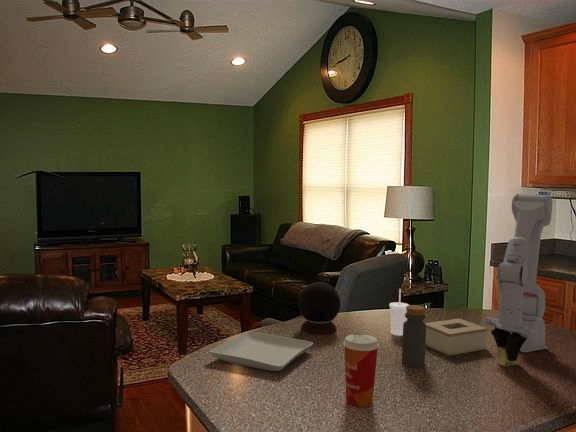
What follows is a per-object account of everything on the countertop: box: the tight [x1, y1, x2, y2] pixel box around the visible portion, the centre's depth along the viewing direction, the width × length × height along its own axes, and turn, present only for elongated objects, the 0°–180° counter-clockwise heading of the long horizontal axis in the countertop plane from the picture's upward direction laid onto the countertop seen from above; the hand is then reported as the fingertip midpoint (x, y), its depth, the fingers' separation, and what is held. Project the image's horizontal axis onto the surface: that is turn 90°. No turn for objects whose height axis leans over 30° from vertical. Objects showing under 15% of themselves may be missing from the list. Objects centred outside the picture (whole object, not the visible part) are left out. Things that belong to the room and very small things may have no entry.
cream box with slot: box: [424, 318, 488, 356], centre depth 154 cm, size 14×11×6 cm
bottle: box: [401, 304, 427, 368], centre depth 139 cm, size 6×6×15 cm
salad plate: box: [208, 330, 314, 372], centre depth 142 cm, size 21×21×3 cm
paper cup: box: [342, 333, 380, 408], centre depth 115 cm, size 8×8×14 cm
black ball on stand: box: [298, 281, 341, 336], centre depth 168 cm, size 13×13×15 cm
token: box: [496, 345, 520, 367], centre depth 140 cm, size 5×3×5 cm, turn 116°
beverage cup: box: [388, 288, 410, 336], centre depth 165 cm, size 6×6×14 cm
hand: (507, 358), depth 141 cm, fingers closed on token, 3 cm apart
